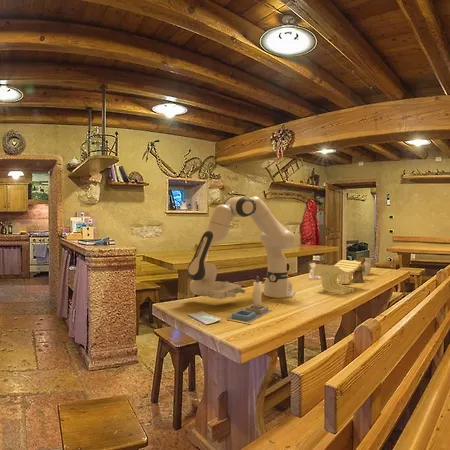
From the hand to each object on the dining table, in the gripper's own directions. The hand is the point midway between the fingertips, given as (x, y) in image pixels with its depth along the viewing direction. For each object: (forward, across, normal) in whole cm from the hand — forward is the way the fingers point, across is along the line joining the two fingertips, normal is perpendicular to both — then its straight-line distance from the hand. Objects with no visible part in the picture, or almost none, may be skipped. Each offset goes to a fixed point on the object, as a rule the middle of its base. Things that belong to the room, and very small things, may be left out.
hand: (240, 293), depth 185 cm
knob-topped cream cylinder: (+10, 0, +7) cm, 12 cm away
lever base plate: (+10, -7, +8) cm, 14 cm away
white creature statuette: (+1, +105, +9) cm, 106 cm away
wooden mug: (+31, +116, +9) cm, 120 cm away
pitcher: (+27, +147, +9) cm, 150 cm away
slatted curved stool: (+28, +76, +9) cm, 81 cm away
